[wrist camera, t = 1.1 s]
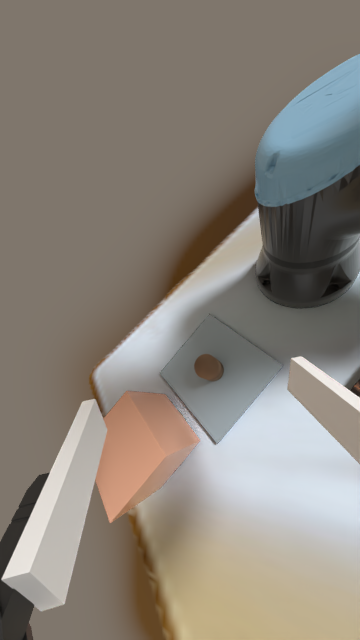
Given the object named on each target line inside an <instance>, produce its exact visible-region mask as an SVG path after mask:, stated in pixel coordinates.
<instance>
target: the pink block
mask: <svg viewBox="0 0 360 640" xmlns="http://www.w3.org/2000/svg"><path fill="white" fill-rule="evenodd" d="M103 420H104V422H105V425H106V427H107V434H106V438H105V442H104V446H103V450H102V454H101V458H100V462H99V466H98V470H97V474H96V478H95V481H96V483H97V486H98V489H99V492H100V495H101V498H102V501H103V504H104V507H105V510H106V512H107V516H108V519H109V521H110V523H111V522H113V521H114V520H115V519H117V518H118V517H120V516H121V515H123V514H124V513H126V512H127V511H129V510H130V509H131V508H133V507H134V506H136V505H137V504H139V503H140V502H141V501H143V500H144V499H146V498H147V497H149V496H150V495H151V494H153V493H154V492H156V491H157V490H159V489H160V488H161V487H162V486H163V485H164V484H165V483H166V481H167V480H168V479H169V478H170V477H171V475H172V474H173V473H174V472H175V471H176V469H177V468H178V467H179V466H180V465H181V463H182V462H183V461H184V460H185V459H186V457H187V456H188V455H189V454H190V453H191V451H192V450H193V449H194V448H195V447H196V445H197V444H198V443H199V442H200V439H199V438H198V437H197V435H196V434H195V433H194V431H193V430H192V429H191V427H190V426H189V425H188V424H187V422H186V421H185V420H184V418H183V417H182V416H181V414H180V413H179V412H178V410H177V409H176V408H175V406H174V405H173V404H172V403H171V401H170V400H169V399H168V397H167V396H166V395H165V394H157V393H146V392H135V391H126V392H125V393H124V395H123V396H122V397H121V398H120V399H119V400H118V402H117V403H116V404H115V405H114V406H113V408H112V409H111V410H110V411H109V412H108V414H107V415H106V416H105V417H104V418H103Z"/></svg>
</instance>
